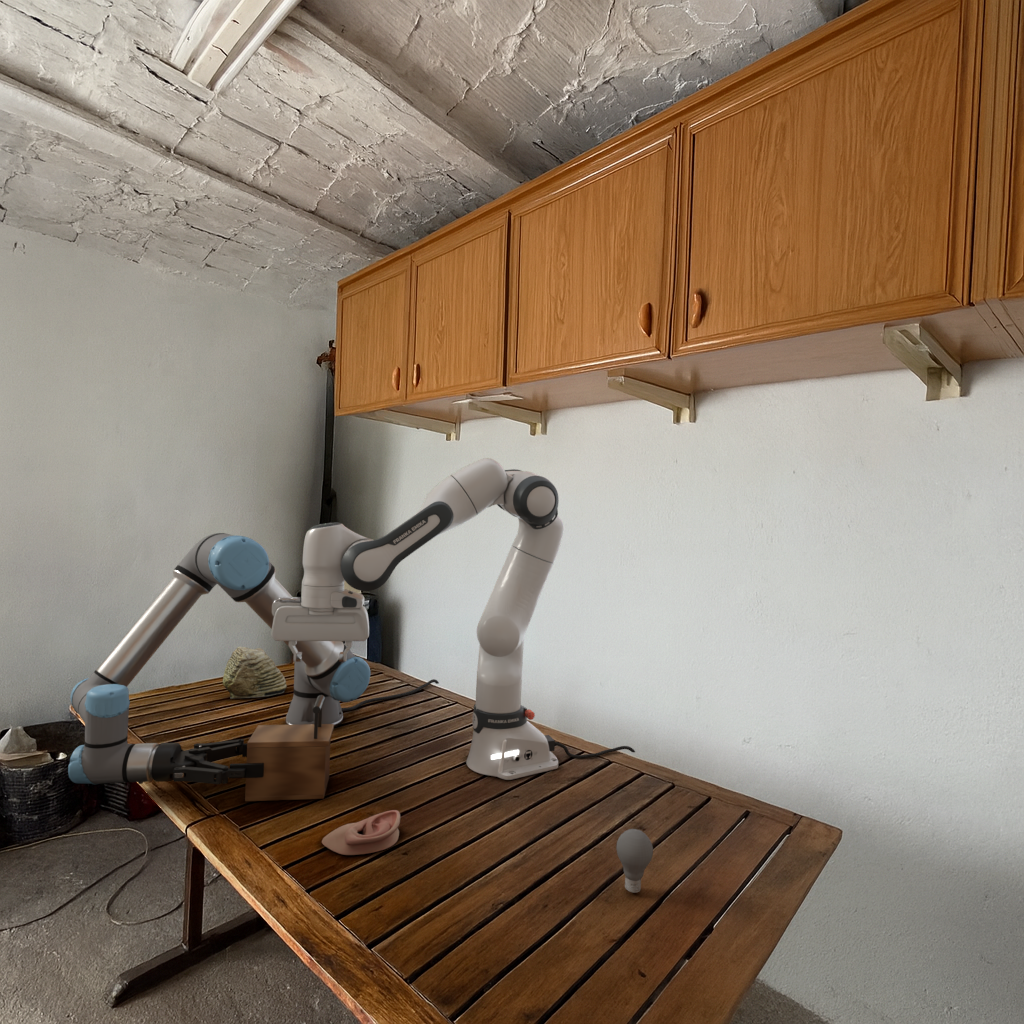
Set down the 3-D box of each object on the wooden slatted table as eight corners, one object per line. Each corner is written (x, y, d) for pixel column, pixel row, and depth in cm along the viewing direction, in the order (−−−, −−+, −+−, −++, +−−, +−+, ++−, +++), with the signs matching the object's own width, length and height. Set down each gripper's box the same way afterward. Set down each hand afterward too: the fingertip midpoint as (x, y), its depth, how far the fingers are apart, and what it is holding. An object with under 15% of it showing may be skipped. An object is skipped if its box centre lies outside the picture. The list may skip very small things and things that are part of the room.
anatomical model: (313, 828, 113) (343, 799, 125) (313, 850, 113) (342, 819, 125) (383, 839, 111) (407, 808, 122) (382, 862, 111) (406, 829, 122)
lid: (333, 728, 143) (335, 693, 143) (328, 746, 133) (330, 707, 133) (258, 730, 140) (259, 693, 140) (247, 747, 130) (248, 708, 130)
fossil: (218, 695, 195) (220, 647, 195) (278, 685, 208) (279, 640, 207) (228, 703, 189) (230, 653, 188) (289, 692, 201) (290, 645, 201)
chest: (329, 777, 143) (331, 729, 143) (323, 798, 133) (325, 746, 133) (256, 779, 140) (257, 730, 140) (244, 801, 130) (247, 748, 130)
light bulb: (610, 879, 108) (613, 822, 108) (644, 879, 109) (647, 822, 109) (619, 902, 102) (622, 840, 102) (655, 901, 103) (658, 840, 103)
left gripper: (175, 758, 143) (278, 755, 147) (133, 806, 121) (256, 801, 125) (176, 725, 143) (279, 723, 147) (134, 767, 121) (257, 764, 124)
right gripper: (269, 599, 132) (266, 665, 132) (369, 600, 135) (367, 664, 136) (275, 594, 138) (272, 657, 138) (371, 595, 142) (368, 657, 142)
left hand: (268, 759), depth 136 cm, fingers closed on chest, 10 cm apart
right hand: (320, 661), depth 137 cm, fingers open, 8 cm apart
